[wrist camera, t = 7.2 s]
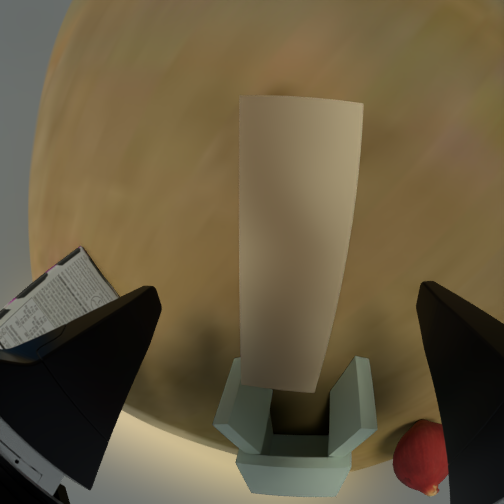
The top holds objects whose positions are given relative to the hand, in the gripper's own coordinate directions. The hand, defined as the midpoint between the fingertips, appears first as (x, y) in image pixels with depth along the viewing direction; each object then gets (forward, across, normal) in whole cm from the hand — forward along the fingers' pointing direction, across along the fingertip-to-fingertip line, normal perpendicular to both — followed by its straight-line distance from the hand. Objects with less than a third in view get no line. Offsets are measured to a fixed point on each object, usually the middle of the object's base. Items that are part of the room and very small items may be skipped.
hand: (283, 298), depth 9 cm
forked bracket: (+5, 0, +15) cm, 16 cm away
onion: (+5, -11, +18) cm, 22 cm away
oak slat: (+5, 0, 0) cm, 5 cm away
